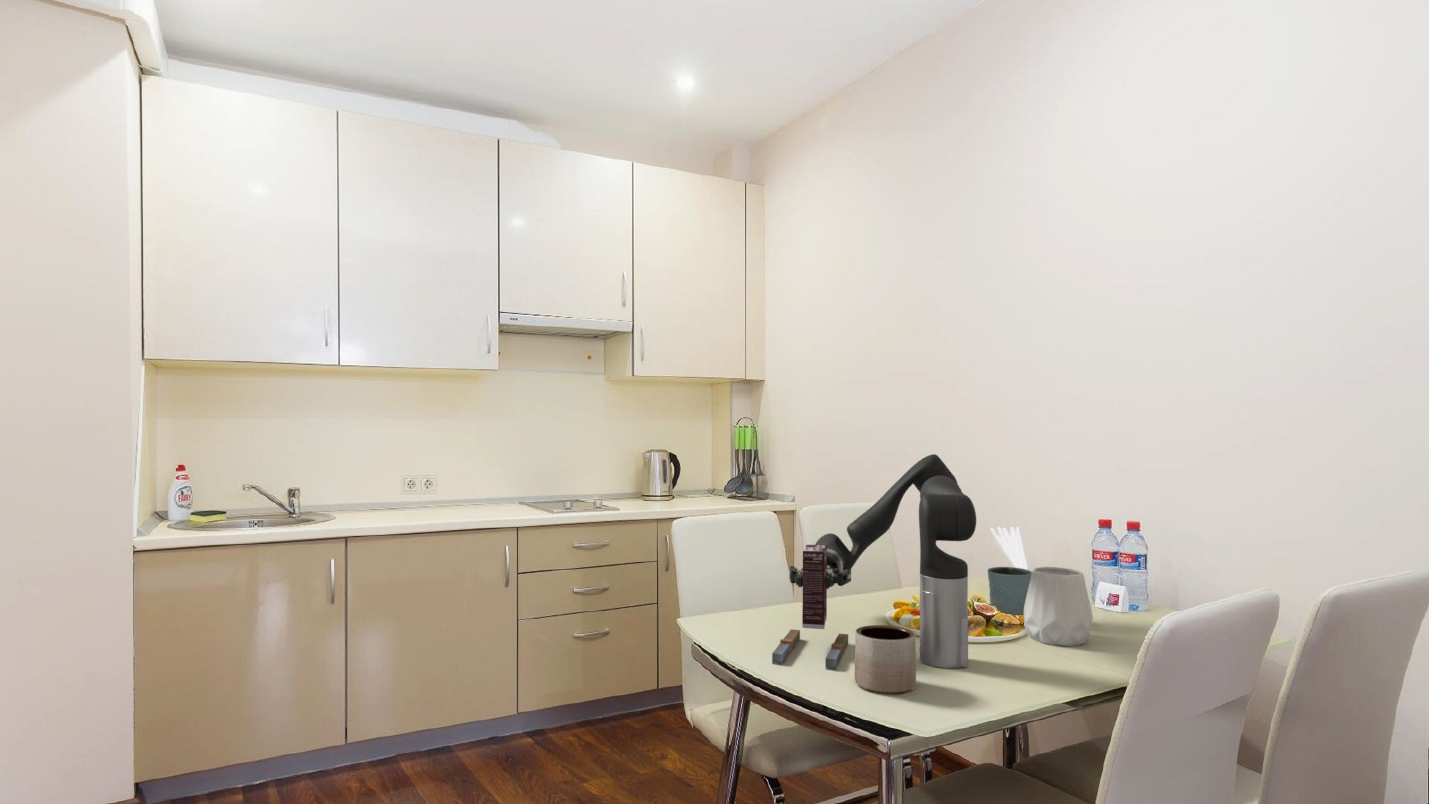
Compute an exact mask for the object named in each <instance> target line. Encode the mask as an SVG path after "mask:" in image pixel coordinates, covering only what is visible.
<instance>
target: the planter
mask: <svg viewBox="0 0 1429 804" xmlns="http://www.w3.org/2000/svg"><path fill="white" fill-rule="evenodd" d="M916 638H917V637H916V633H915V632H914V631H912V630H910V629H908V628H904V627H901V626H897V625H889V624H888V625H886V624H874V625H873V624H870V625H865V626H860V627H858V628H856V629H855V637H854V639H855V642H854V643H855V645H854V646H855V647H854V648H855V651H854V653H855V654H854V682H855V683H856V684H857V685H858V687H860V688H861V687H862V689H863V690H865V689H866V690H865V691H868V692H871V693H875V692H876V694H883V695H901V694H905V693H908V691H909V692H910V691H911V690H913V689H914V688H915V687H916V685H917V671H916V670H917V665H916V664H917V659H916V655H917V654H916V651H917V650H916V648H917V647H916Z"/></svg>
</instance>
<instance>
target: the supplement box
mask: <svg viewBox="0 0 1429 804" xmlns="http://www.w3.org/2000/svg"><path fill="white" fill-rule="evenodd" d="M802 568H803V586H802V614H801V615H802V617H801V619H802V620H801V621H802V623H801V625H802V628H803V629H817V630H824V629H825V626H826V622H827V619H828V618H827V616H828V614H827V613H828V612H827V610H828V609H827V608H828V607H827V606H828V605H827V604H828V603H827V600H828V599H827V597H828V596H827V595H828V594H827V592H828V589H825V578H826V576H827V546H826V545H815V544H806V545H805V547H804V549H803V550H802Z"/></svg>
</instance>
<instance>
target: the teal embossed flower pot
mask: <svg viewBox="0 0 1429 804" xmlns="http://www.w3.org/2000/svg"><path fill="white" fill-rule="evenodd" d="M1031 575H1032V571H1031V570H1028V569H1025V568H1022V567H1021V568H1020V567H1011V566H993V567H989V568H987V577H988V578H987V579H988V587H989V603H990V605H992V606H995V607H996V608H997V610H998V611H1000V612H1001V613H1005V614H1011V615H1023V614H1024V605H1025V600H1026V596H1027V592H1028V588H1029V583H1030V579H1031Z"/></svg>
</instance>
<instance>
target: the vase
mask: <svg viewBox="0 0 1429 804" xmlns="http://www.w3.org/2000/svg"><path fill="white" fill-rule="evenodd" d="M1031 572H1032V575H1031V579H1030V583H1029V588H1028V592H1027V596H1026V600H1025V605H1024V624H1023V625H1024V629H1025V631H1026V633H1027V635H1028V636H1029V637H1030V638H1031V639H1033V640H1035V641H1037V642H1039V641H1040V642H1039V643H1042V644H1045V645H1051V644H1054V645H1053V646H1059V645H1062V646H1061V647H1073V646H1072V645H1076V646H1082V645H1083V644H1085V643H1086V642H1087V640H1088V639H1089V638H1090V635H1091V629H1092V622H1093V618H1094V617H1093V616H1094V615H1093V610H1092V606H1091V603H1090V598H1089V594H1088V590H1087V585H1086V580H1085V576H1084V573H1083V572H1081V571H1080V570H1078V569H1074V568H1067V567H1066V568H1065V567H1057V566H1040V567H1035V568H1034V569H1033V570H1032V571H1031ZM1081 644H1082V645H1081Z"/></svg>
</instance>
